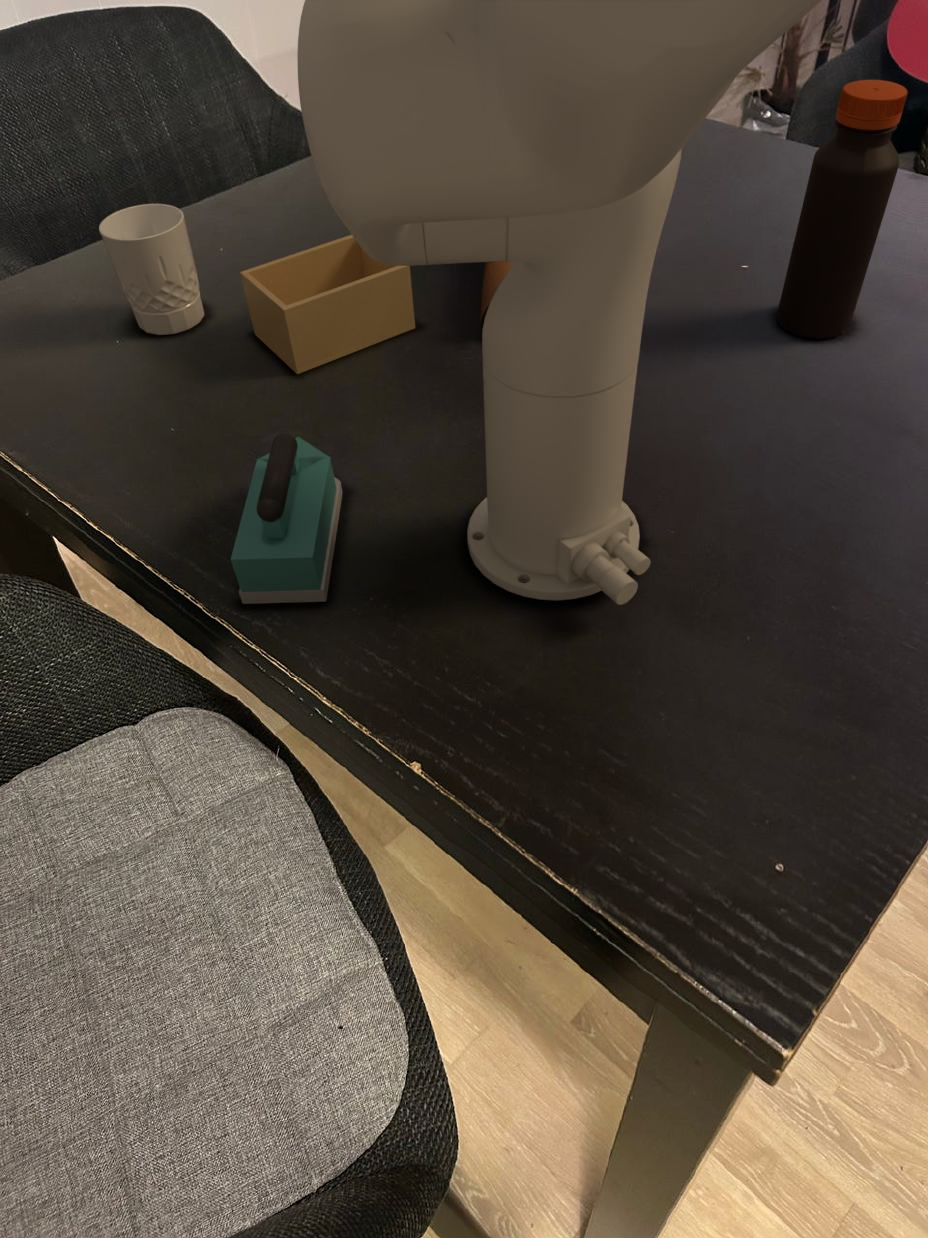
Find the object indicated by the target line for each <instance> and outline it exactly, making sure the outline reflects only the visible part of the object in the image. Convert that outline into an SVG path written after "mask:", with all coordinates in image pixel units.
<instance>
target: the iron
mask: <svg viewBox="0 0 928 1238" xmlns="http://www.w3.org/2000/svg"><path fill="white" fill-rule="evenodd" d="M342 499H343V488H342V482H341V481H340V480H339V478H337V477H335V474H334V469H333V463H332V459H331V456H330V455H329V456H328V455H327V454H326V453H324V452H322V451H321V450H319V449H318V448H316V447H315V446H313V445H311V443H309V442H307V441H305V440H304V439H303V438H301V437H300V436H297V437H294V436H293V435H292V434H290V433H287V432H281V433H279V434H277V435H275V437H274V438H273V440H272V443H271V448H270V450H269V453H266V454H265V455H263V456H261V457H259V458H257V459H256V462H255V466H254V468H253V473H252V477H251V481H250V484H249V488H248V491H247V496H246V500H245V504H244V508H243V511H242V514H241V518H240V523H239V526H238V530H237V534H236V536H235V541H234V544H233V548H232V553H231V557H230V561H231V562H230V563H231V565H232V568H233V571H234V575H235V577H236V580H237V583H238V587H239V589H238V595H239V598H240V600H241V603H242V604H243V605H250V604H251V605H252V604H253V605H254V604H255V605H257V604H284V603H285V604H286V603H287V604H288V603H289V604H290V603H320V602H321V603H324V602H327V599H328V593H329V586H330V580H331V579H330V578H331V572H332V565H333V560H334V559H333V558H334V552H335V546H336V539H337V533H338V525H339V520H340V512H341V507H342V506H341V505H342Z"/></svg>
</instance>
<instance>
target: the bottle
mask: <svg viewBox="0 0 928 1238" xmlns="http://www.w3.org/2000/svg"><path fill="white" fill-rule="evenodd" d="M908 94H909V91H908V89H907V88H906V87H905V86H904V85H901V84H899V83H897V82H894V81H889V80H882V79H860V80H856V81H855V80H854V81H851V82H849V83H848V82H847V83H846V84H845V85H843V86H842V89H841V93H840V97H839V101H838V103H837V104H838V105H837V108H836V113H835V120H834V126H835V128H836V130H835V134H834V135H833V136H832V137H831V138H829V139H828V140H827V141H826V142H824V143H823V144H822V145H821V146H820V147H819V148H818V149H817V150H816V151H815V152H814V155H813V159H812V164H811V167H810V172H809V176H808V181H807V185H806V189H805V192H804V197H803V202H802V206H801V210H800V214H799V218H798V223H797V228H796V231H795V235H794V240H793V244H792V249H791V253H790V257H789V262H788V266H787V270H786V273H785V278H784V282H783V287H782V290H781V295H780V299H779V303H778V308H777V313H776V319H777V320H776V321H777V322H778V324H779V325H780V326H781V327H782V328H783V329H784V330H785V331H786V332H789V333H791V334H793V335H795V336H798V337H802V338H806V339H814V340H819V339H820V340H821V339H829V338H834V337H837V336H840V335H842V334H843V333H845V332H846V331H847V330H848V329H849V327H850V326H851V324H852V321H853V318H854V314H855V311H856V308H857V305H858V301H859V298H860V294H861V292H862V288H863V285H864V283H865V282H864V281H865V278H866V275H867V272H868V269H869V265H870V262H871V258H872V255H873V252H874V249H875V245H876V242H877V239H878V236H879V233H880V229H881V225H882V222H883V219H884V217H885V213H886V211H887V210H886V209H887V206H888V203H889V199H890V197H891V193H892V190H893V186H894V184H895V181H896V177H897V173H898V170H899V167H900V155H899V153H898V152H897V149H896V148H895V146H894V145H893V142H892V141H891V137H892V133H894V132H895V131H896V130H897V129H898V124H899V123H900V121H901V118H902V114H903V111H904V107H905V104H906V101H907V97H908Z"/></svg>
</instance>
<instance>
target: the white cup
mask: <svg viewBox="0 0 928 1238" xmlns="http://www.w3.org/2000/svg"><path fill="white" fill-rule="evenodd" d="M98 230H99V234H100V236H101V239H102V242H103V244H104V246H105V249H106V251H107V254H108V257H109V259H110V261H111V264H112V266H113V269H114V272H115V274H116V276H117V280H118V281H119V283H120V285H121V288H122V290H123V293H124V295H125V297H126V300H127V301H128V303H129V305H130V307H131V310H132V312H133V315H134V318H135V320H136V323H137V324H138V328H140V329H141V330H143V331H144V332H145V333H147V334H152V335H157V336H166V335H167V336H168V335H176V334H179V333H182V332H186V331H189V330H190V329H192V328H193V327H196V326H197V325H198V324H200V323H201V322H202V320H203V318H204V317H205V310H204V306H203V301H202V296H201V292H200V287H201V285H200V283H199V278H198V270H197V267H196V264H195V263H196V262H195V259H194V258H195V257H194V254H193V250H192V245H191V241H190V238H189V232H188V228H187V224H186V220H185V214H184V212H183V211H182V210H181V209H180V208H178V207H176V206H175V205H171V204H165V203H144V204H137V205H132V206H128V207H125V208H122V209H120V210H117V211H114V212H113V213H111V214H109V215H108V216H106V217H105V218H104V219H103V220H102V221H101V222H100V224H99V226H98Z"/></svg>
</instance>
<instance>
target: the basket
mask: <svg viewBox="0 0 928 1238" xmlns="http://www.w3.org/2000/svg"><path fill="white" fill-rule="evenodd" d="M239 274H240V278H241V282H242V287H243V290H244V295H245V298H246V299H245V300H246V304H247V308H248V312H249V316H250V319H251V324H252V327H253V328H252V329H253V332H254V336H256V337H257V338H258V339H259V340H260V341H261V342H262V343H263V344H264V345H265V346H266V347H267V348H269V350H271V351H272V352H273V353H274V354H275V355H276V356H277V357H278V358H279V359H280V360H281V361H282V362H283V363H284V364H285V365H286V366H288V367H289V368H290V369H291V370H292V371H293V372H294V373H295V374H296V375H299V374H302V373H305V372H307V371H310V370H312V369H315V368H317V367H320V366H322V365H325V364H328V363H330V362H333V361H335V360H338V359H340V358H342V357H345V356H348V355H351V354H353V353H355V352H359V351H361V350H363V349H366V348H369V347H371V346H374V345H376V344H378V343H381V342H383V341H387V340H389V339H392V338H395V337H397V336H399V335H401V334H404V333H407V332H410V331H412V330H415V329H416V319H415V310H414V298H413V288H412V277H411V266H396V265H389V264H384V263H381V262H378V261H376V260H374V259H373V258H371V257H370V256H369V255H368V254H366V252H365V251H364V250H363V249H362V248H361V247H360V245H359V244H358V243H357V241H356V240H355V238H354V237H353V236H352V234H349V235H346V236H343V237H340V238H337V239H333V240H331V241H328V242H326V243H322V244H318V245H316V246H313V247H311V248H308V249H304V250H302V251H298V252H295V253H292V254H290V255H287V256H284V257H281V258H277V259H275V260H272V261H269V262H265V263H262V264H260V265H257V266H254V267H251V268H247V269H245V270H242V271H240V272H239Z"/></svg>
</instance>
